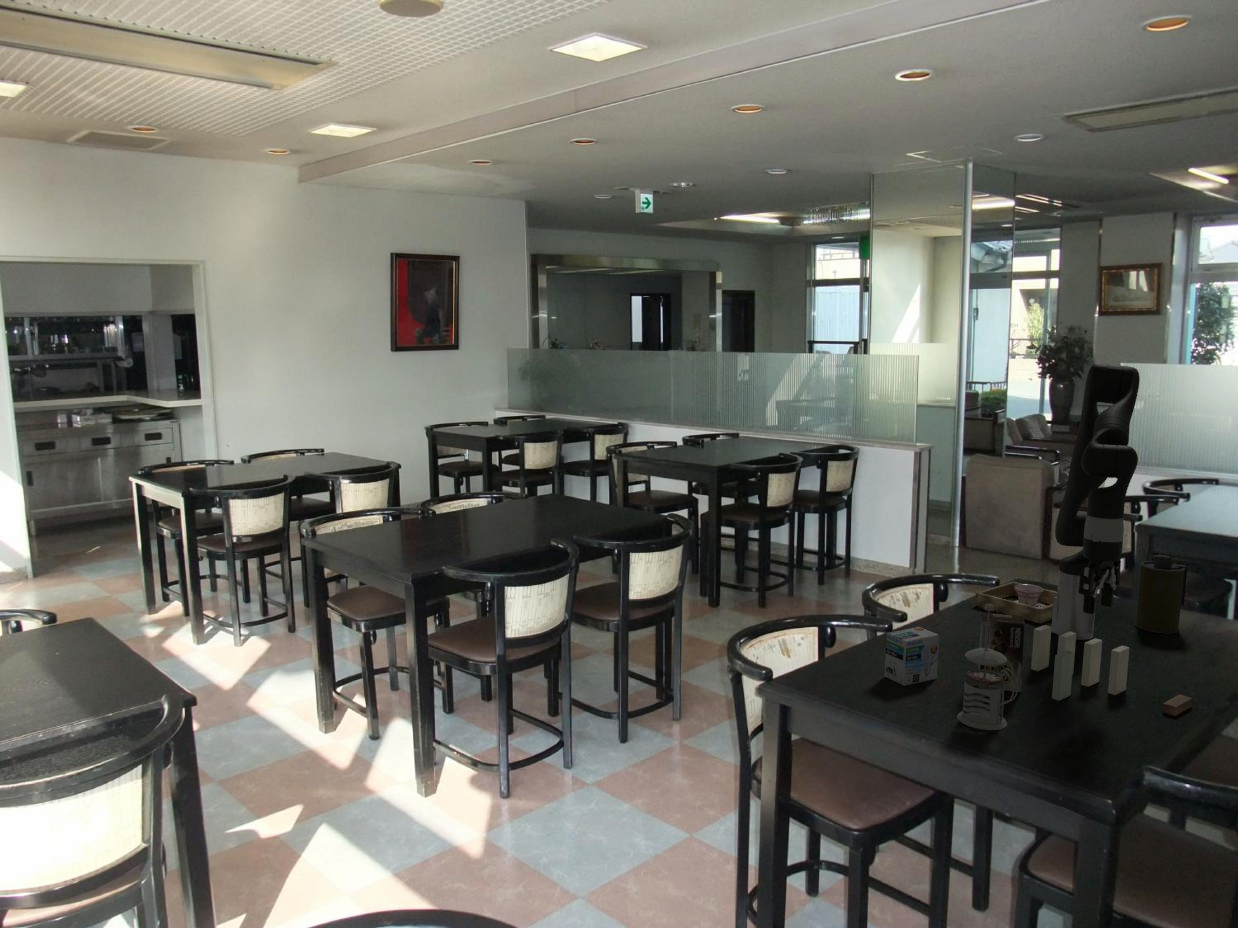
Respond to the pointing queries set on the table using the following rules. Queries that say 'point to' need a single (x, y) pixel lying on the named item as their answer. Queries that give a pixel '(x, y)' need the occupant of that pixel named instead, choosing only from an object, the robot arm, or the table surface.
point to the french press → (985, 689)
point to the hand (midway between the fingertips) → (1097, 609)
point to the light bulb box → (911, 656)
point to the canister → (1161, 595)
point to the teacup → (1029, 594)
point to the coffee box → (1004, 646)
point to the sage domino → (1062, 675)
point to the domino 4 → (1118, 670)
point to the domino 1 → (1041, 647)
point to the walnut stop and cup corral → (1044, 615)
